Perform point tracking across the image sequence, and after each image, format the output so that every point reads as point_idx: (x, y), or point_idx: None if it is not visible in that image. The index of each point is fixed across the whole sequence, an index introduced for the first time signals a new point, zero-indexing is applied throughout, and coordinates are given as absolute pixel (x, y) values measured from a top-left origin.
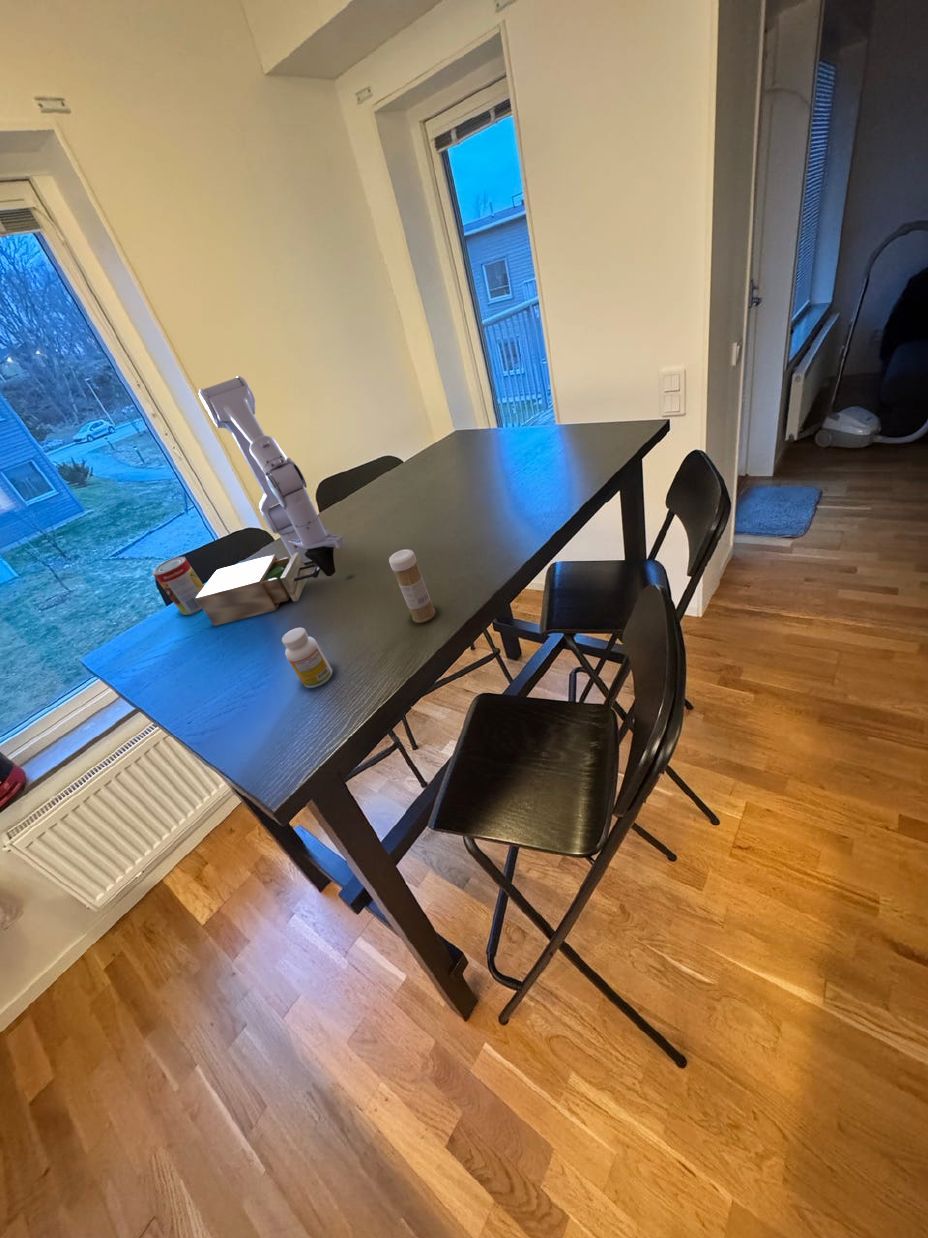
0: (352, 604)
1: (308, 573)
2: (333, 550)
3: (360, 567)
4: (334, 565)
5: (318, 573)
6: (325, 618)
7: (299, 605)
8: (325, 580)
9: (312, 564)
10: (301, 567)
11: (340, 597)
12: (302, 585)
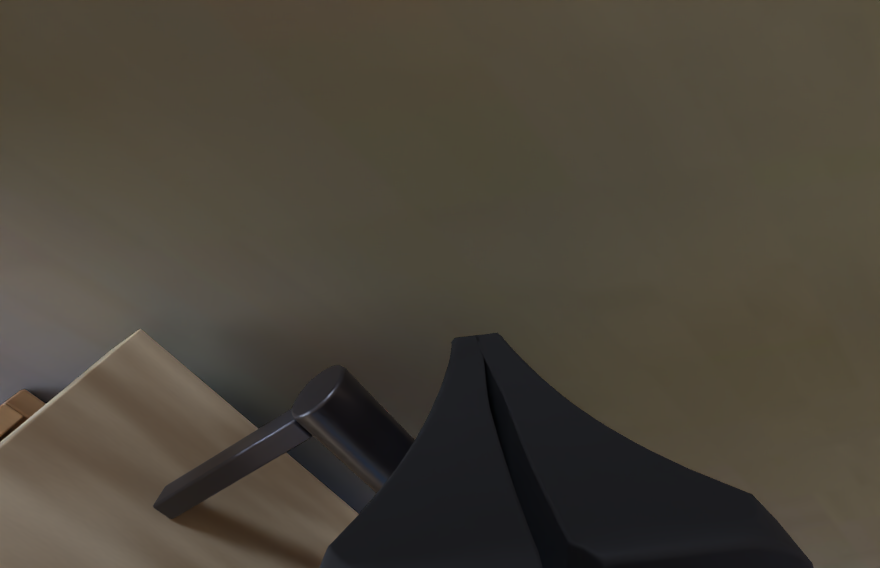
0: (760, 461)
1: (141, 342)
2: (654, 455)
3: (566, 95)
4: (522, 359)
5: None
6: None
7: None
8: (354, 322)
9: (271, 450)
10: (184, 507)
11: (639, 435)
12: (289, 472)
